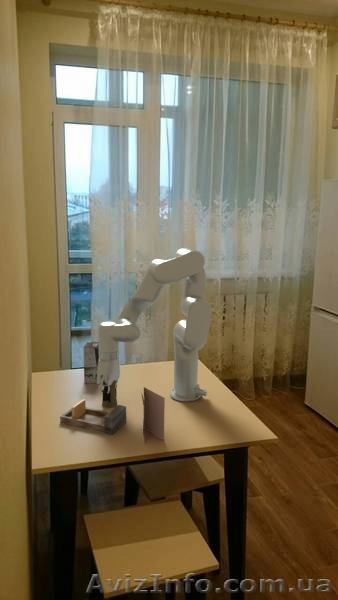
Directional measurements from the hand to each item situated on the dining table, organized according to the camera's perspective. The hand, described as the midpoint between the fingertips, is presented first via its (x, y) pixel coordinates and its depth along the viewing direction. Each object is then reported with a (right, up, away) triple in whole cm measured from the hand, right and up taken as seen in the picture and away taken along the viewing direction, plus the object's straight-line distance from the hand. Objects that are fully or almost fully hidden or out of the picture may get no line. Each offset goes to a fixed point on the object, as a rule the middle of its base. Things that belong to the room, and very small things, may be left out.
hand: (109, 399), depth 168 cm
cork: (0, -2, 0) cm, 2 cm away
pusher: (-9, -3, -12) cm, 16 cm away
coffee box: (-11, +3, +26) cm, 28 cm away
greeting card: (+17, -7, -22) cm, 29 cm away
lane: (-4, -5, -14) cm, 15 cm away
